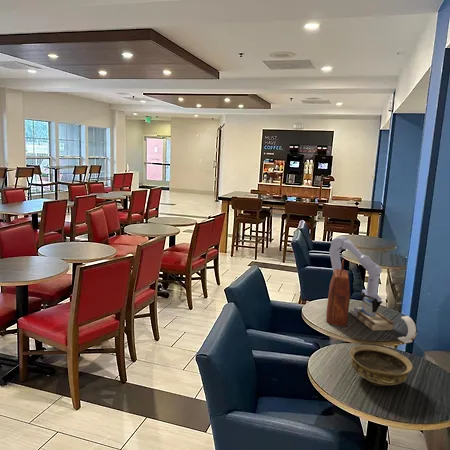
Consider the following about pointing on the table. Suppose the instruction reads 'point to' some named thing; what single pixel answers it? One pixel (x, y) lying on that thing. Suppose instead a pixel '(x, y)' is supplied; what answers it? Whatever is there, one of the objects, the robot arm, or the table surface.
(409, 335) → the headphone stand
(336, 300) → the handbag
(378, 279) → the robot arm
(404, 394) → the table surface
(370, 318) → the sweep station
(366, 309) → the medicine box
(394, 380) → the ceramic bowl
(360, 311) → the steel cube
